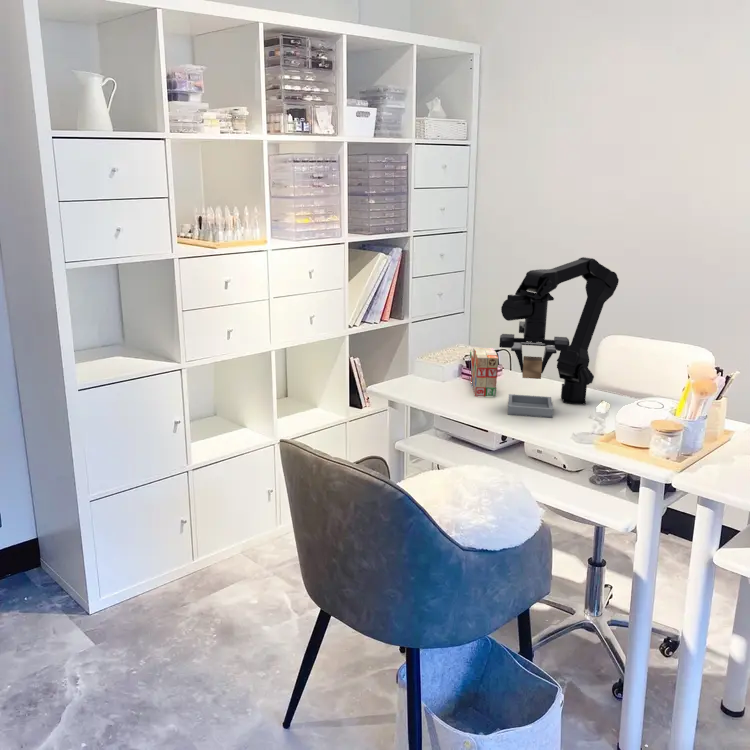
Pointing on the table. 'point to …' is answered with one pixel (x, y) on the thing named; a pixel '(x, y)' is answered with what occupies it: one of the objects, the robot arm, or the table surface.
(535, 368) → the walnut cube
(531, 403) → the grey tray
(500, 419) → the table surface
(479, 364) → the stack of blocks
